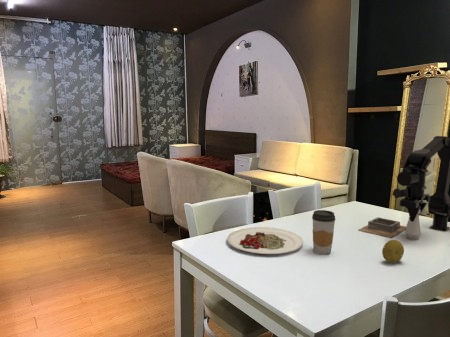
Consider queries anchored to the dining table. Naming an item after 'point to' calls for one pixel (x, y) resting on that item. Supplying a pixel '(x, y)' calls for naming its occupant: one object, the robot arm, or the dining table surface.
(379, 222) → the brown tray
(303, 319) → the dining table surface
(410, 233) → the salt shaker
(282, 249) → the plated food
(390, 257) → the ochre rounded piece
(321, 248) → the coffee cup
